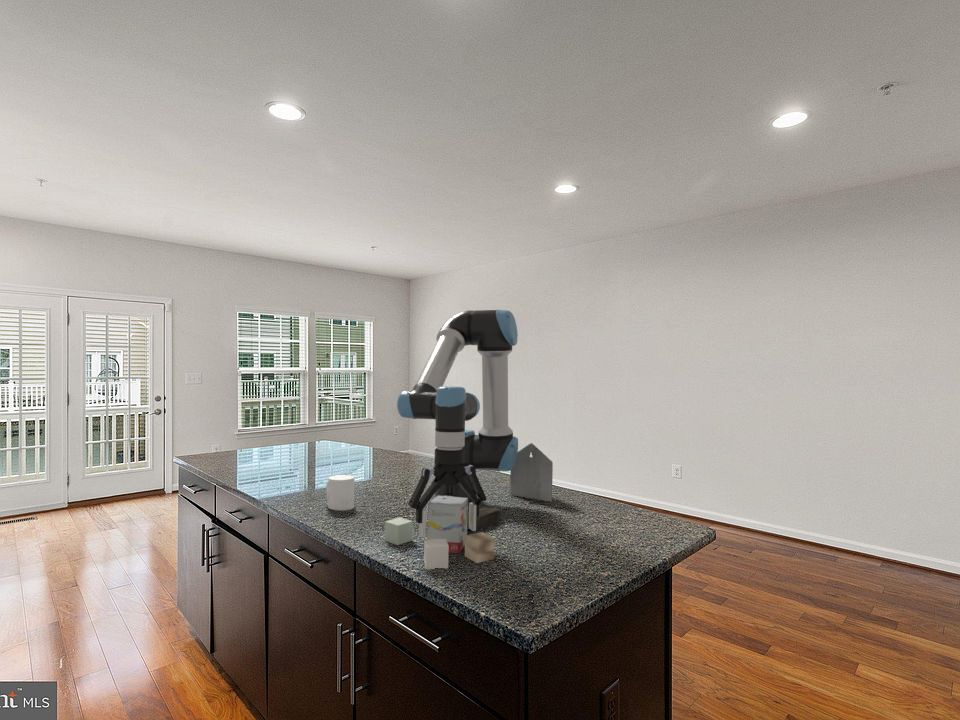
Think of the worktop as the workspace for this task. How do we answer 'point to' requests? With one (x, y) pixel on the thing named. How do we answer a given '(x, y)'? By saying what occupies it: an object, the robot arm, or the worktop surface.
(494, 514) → the decorative stone
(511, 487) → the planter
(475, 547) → the maple cube
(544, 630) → the worktop surface
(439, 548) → the off-white cube
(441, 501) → the ink box
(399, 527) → the sage cube
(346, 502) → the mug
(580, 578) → the worktop surface
